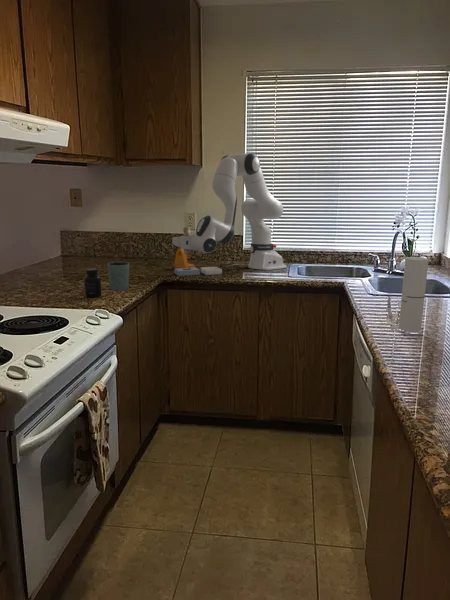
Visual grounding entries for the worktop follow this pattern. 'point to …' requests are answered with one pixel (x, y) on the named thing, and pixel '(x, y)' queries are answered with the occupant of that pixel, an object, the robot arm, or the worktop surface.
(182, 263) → the bracket
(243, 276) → the worktop surface
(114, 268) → the blue cup
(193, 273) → the block
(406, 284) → the cylindrical container
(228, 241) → the robot arm
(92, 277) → the supplement bottle
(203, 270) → the tray
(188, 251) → the dowel
